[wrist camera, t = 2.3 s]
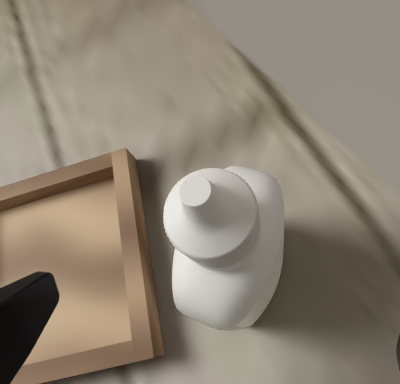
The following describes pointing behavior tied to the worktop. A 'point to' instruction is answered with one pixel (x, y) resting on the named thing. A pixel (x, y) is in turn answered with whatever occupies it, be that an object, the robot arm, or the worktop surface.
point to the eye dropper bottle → (225, 244)
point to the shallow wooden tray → (84, 265)
